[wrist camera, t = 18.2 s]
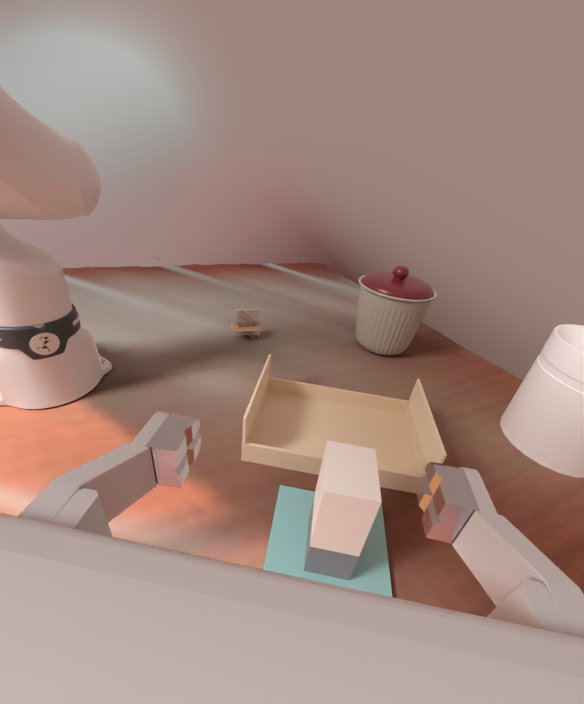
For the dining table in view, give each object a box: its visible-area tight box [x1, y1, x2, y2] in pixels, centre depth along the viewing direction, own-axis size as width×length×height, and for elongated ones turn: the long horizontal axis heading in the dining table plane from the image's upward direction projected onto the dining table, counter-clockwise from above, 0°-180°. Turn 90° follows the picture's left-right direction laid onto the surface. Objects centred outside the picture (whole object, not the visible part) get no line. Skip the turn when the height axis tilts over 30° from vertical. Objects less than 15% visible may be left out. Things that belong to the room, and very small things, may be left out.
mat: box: [263, 485, 392, 597], centre depth 37 cm, size 14×14×1 cm
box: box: [304, 440, 382, 580], centre depth 33 cm, size 6×5×14 cm
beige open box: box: [241, 354, 447, 494], centre depth 51 cm, size 17×27×8 cm, turn 82°
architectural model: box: [231, 309, 261, 338], centre depth 77 cm, size 3×7×8 cm, turn 109°
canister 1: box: [356, 266, 437, 356], centre depth 78 cm, size 18×18×21 cm
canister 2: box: [500, 324, 584, 478], centre depth 53 cm, size 16×16×20 cm
